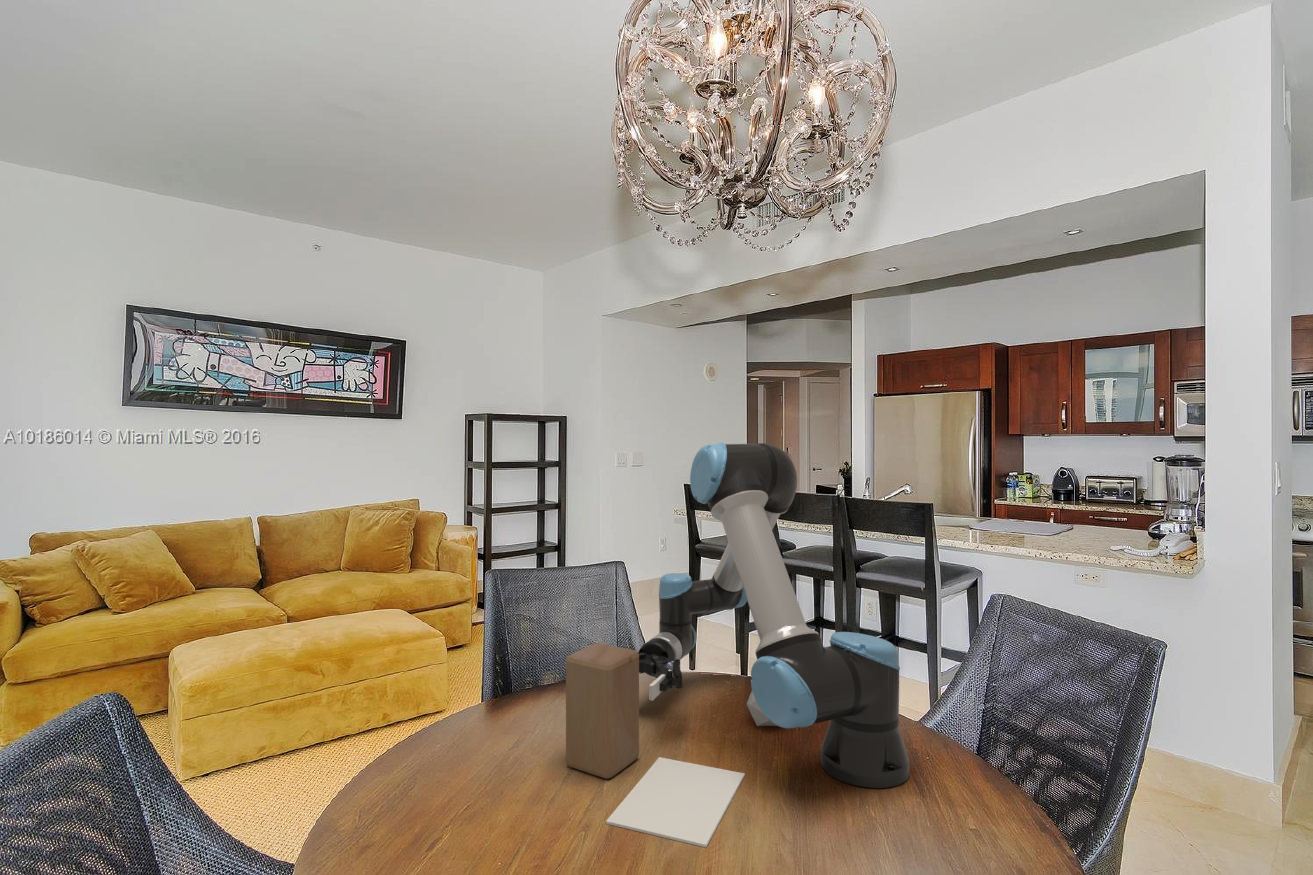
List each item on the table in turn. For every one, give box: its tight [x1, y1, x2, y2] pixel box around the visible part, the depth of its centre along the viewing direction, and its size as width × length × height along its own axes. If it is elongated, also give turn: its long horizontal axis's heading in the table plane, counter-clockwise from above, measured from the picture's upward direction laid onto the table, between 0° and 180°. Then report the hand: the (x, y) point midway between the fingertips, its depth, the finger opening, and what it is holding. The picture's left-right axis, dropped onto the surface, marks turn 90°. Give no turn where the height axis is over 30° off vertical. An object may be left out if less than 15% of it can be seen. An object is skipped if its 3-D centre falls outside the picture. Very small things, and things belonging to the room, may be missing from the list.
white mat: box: [605, 756, 745, 848], centre depth 109 cm, size 16×22×1 cm
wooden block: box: [565, 642, 640, 779], centre depth 121 cm, size 10×10×20 cm
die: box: [746, 690, 778, 727], centre depth 138 cm, size 8×9×10 cm
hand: (618, 687), depth 128 cm, fingers open, 13 cm apart
